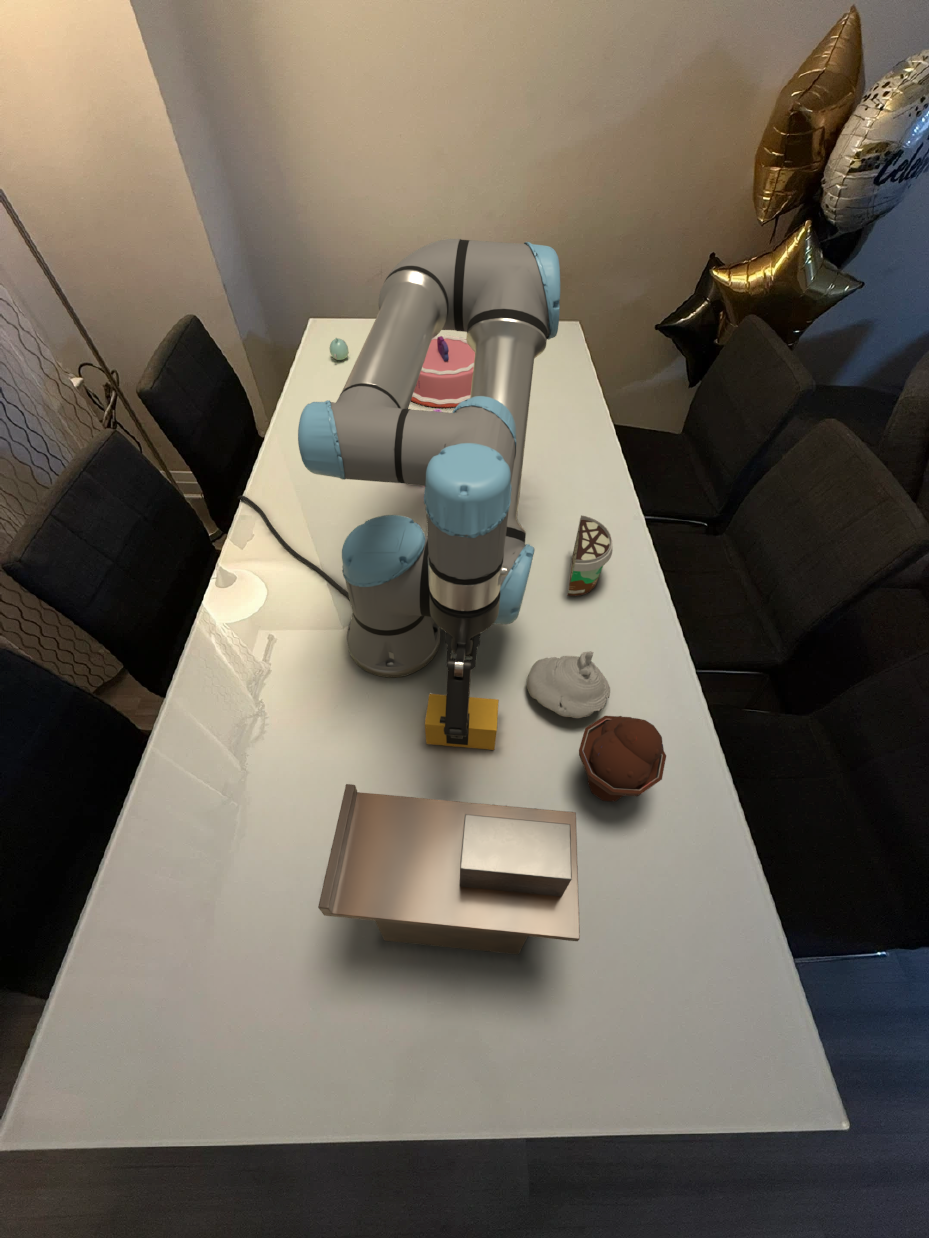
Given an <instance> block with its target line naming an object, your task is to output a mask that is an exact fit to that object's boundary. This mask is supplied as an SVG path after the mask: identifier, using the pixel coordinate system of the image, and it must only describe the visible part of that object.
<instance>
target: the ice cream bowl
mask: <svg viewBox="0 0 929 1238" xmlns="http://www.w3.org/2000/svg"><path fill="white" fill-rule="evenodd" d="M578 756H579V758H580V762H581V764H582V766H583V768H584V771H585V773H586V775H587V780H586V782H587V785H588V787H589V789H590V791H591V794H593V795H594V796H595V797H597V798H598V799H600V800H601V801H603V802H617V801H618V800H620V799H621V798H623V797H624V796H628V797H639V796H641V795H642V794H644V793H645V792H646V791H648V790H649V789H651V788H652V787H653V786H655V785H656V784H658V783H659V782H661V781H662V780H663V777H664V776H663V775H664V771H665V765H666V760H667V754H666V751H665V749H664V744H663V736H662V735H661V734H660V731H659V730H658V729H657V728H656V726H655V725H654V724H652V723H651V722H649V721H647V719H642V718H637V717H631V716H622V715H603V716H602V717H600V718H599V719H597V720H595V721H594V722H592V723H591V724H589V725H587V726H586V727H585V728H584V731H583V735H582V738H581V741H580V745H579V747H578Z"/></svg>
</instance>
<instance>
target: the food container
mask: <svg viewBox="0 0 929 1238" xmlns="http://www.w3.org/2000/svg"><path fill="white" fill-rule="evenodd" d="M578 522H579V523H578V528H577V531H576V532H577V533H576V536H575V540H574V546H573V551H572V555H571V560H570V569H569V576H568V585H567V591H566V592H567V593H566V596H568V597H577V596H578V597H580V596H584V595H586V594H589V593H590V592H592V591H593V589H595V588H596V586H597V583H598V580H599V577H600V576H601V574H602V570H603V568H604V566H605V565H606V564H607V563H608V562H610V560H611V558H612V556H613V551H614V549H613V547H614V546H613V538H612V535H611V533H610V531H609V529H608V528H607V527H606V526H605V525H604V524H603V523H602V522H600V521H599V520H597V519H595V518H593V517H590V516H587V515H580V518H579V521H578Z"/></svg>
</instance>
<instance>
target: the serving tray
mask: <svg viewBox="0 0 929 1238" xmlns="http://www.w3.org/2000/svg"><path fill="white" fill-rule="evenodd" d="M334 831H335V832H334V835H333V839H332V840H333V841H332V843H331V849H330V852H329V858H328V862H327V866H326V871H325V875H324V880H323V884H322V888H321V893H320V897H319V902H318V909H319V911H320V912H321V913H322V915H323V916H325V917H332V918H333V917H335V918H344V919H352V920H353V919H355V920H364V921H374V922H375V924H376V926H377V928H378V930H379V933H380V934H381V936H382V939H383V940H384V942H395V943H404V944H413V945H423V946H432V947H433V946H434V947H443V948H453V949H460V950H461V949H462V950H470V951H471V950H472V951H480V952H492V953H501V954H508V955H509V954H510V955H519V954H520V953H521V951H522V948H523V947H524V944H525V943H526V941H527V939H528V937H530V938H541V939H549V940H560V941H569V942H579V941H580V939H581V933H580V932H581V931H580V902H579V901H580V900H579V873H578V871H579V867H578V865H579V864H578V841H577V840H578V838H577V837H578V836H577V834H578V833H577V813H576V812H575V811H565V810H555V809H554V810H553V809H543V808H532V807H523V806H522V807H521V806H510V805H499V804H491V803H490V804H489V803H476V802H469V801H456V800H447V799H433V798H423V797H412V796H402V795H390V794H383V793H381V794H380V793H371V792H360V791H359V792H358V789H357V786H356V784H349V783H346V784H345V788H344V792H343V796H342V800H341V805H340V809H339V813H338V817H337V823H336V827H335V830H334Z"/></svg>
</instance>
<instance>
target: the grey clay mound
mask: <svg viewBox="0 0 929 1238" xmlns="http://www.w3.org/2000/svg"><path fill="white" fill-rule="evenodd" d="M593 656H594V651H592V650H591V651H584V652H581V654H580V655H579V656H575V655H574V656H573V655H562V656H561V657H556V656H553V657H545V658H541V659H538V660H537V661H535V662H534V663H533V665H532V666H531V668H530V670H529V673H528V675H527V677H526V689H527V691H528V695H529V696H530V697H531V698H532V699H534V700H536V701H537V702H538V703H539V704H540V705H542V707H544V708H546V709H548V710H550V711H553V712H555V714H557V715H558V716H560V717H564V718H573V719H582V718H587V717H590V716H591V715H592V714H593V713H595V712H600V711H601V710H603V709H604V707H605V705H606V704H607V703H606V702H607V700H608V699H609V698H610V696H611V687H610V684H609V682H608V680H607V678H606V676H605V675H604V674H603V672H602V671H601V670H600V669H599V667H597V665H596V664H595V663H594V662H593V661H592V659H593Z"/></svg>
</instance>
